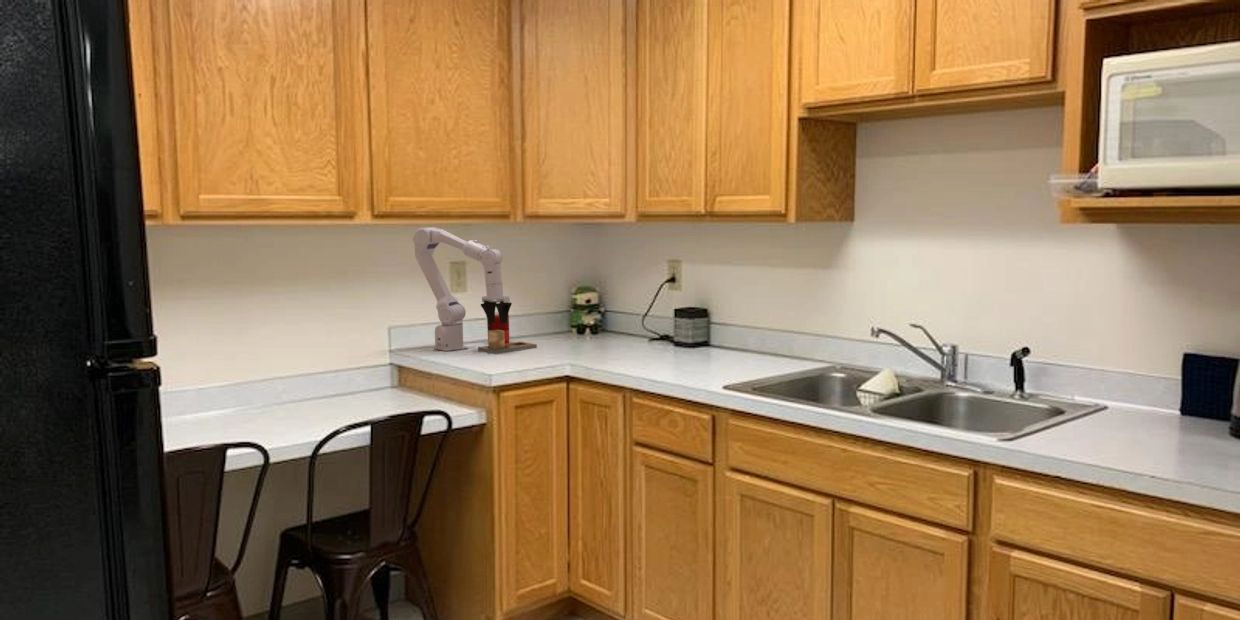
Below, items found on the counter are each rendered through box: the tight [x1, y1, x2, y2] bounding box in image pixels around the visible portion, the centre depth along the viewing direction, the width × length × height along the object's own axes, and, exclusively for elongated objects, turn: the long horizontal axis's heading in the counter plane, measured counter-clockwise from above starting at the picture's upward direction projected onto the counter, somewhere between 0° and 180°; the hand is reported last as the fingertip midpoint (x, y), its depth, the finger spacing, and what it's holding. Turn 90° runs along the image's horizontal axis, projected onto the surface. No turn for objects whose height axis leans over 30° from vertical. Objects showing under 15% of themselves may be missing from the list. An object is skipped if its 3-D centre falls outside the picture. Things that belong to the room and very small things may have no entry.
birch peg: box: [487, 330, 505, 349], centre depth 316 cm, size 4×4×7 cm
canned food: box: [486, 311, 510, 343], centre depth 334 cm, size 8×8×11 cm
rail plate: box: [477, 340, 538, 355], centre depth 319 cm, size 18×10×1 cm, turn 131°
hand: (497, 322), depth 316 cm, fingers open, 7 cm apart
